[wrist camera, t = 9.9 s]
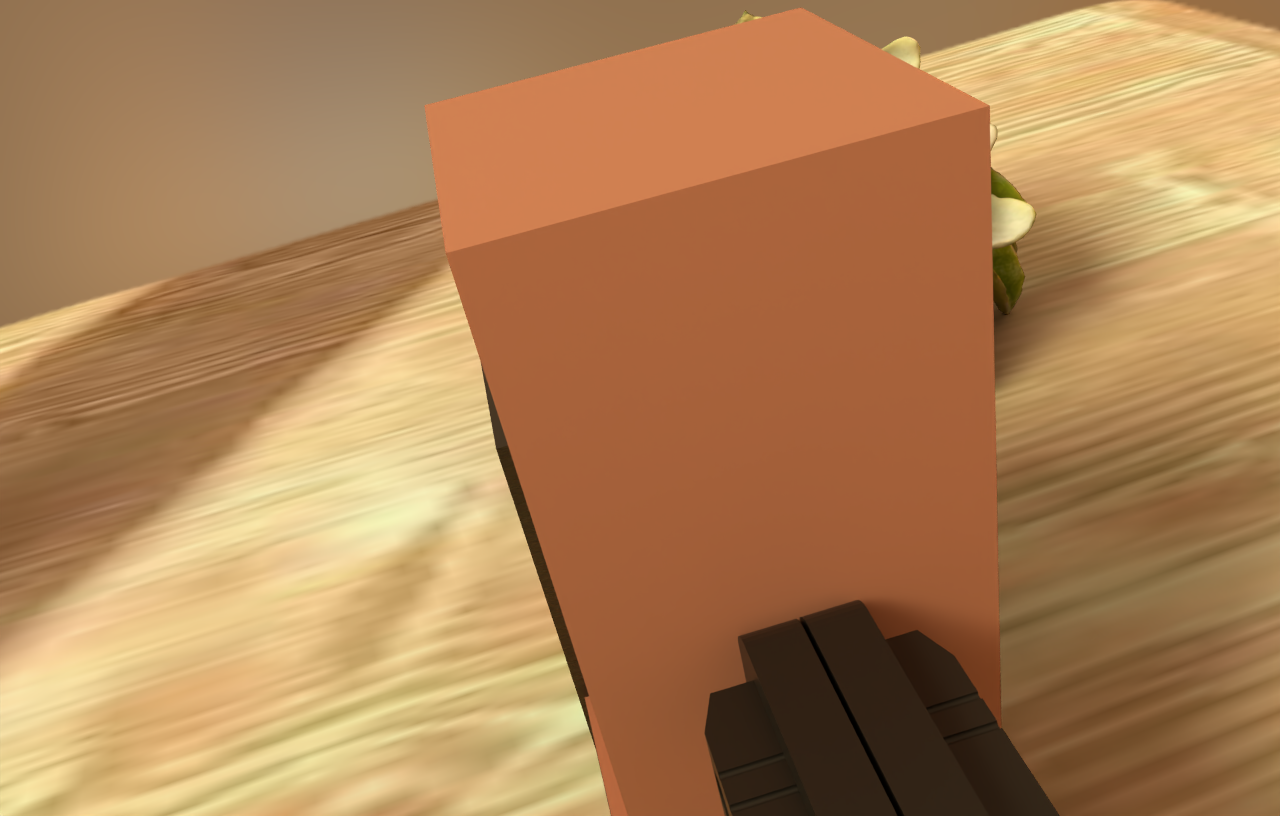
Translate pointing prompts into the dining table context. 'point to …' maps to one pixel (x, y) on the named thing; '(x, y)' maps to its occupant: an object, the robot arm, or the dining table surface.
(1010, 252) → the passion flower
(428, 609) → the dining table surface
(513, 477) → the rail
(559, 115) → the block
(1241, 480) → the dining table surface
